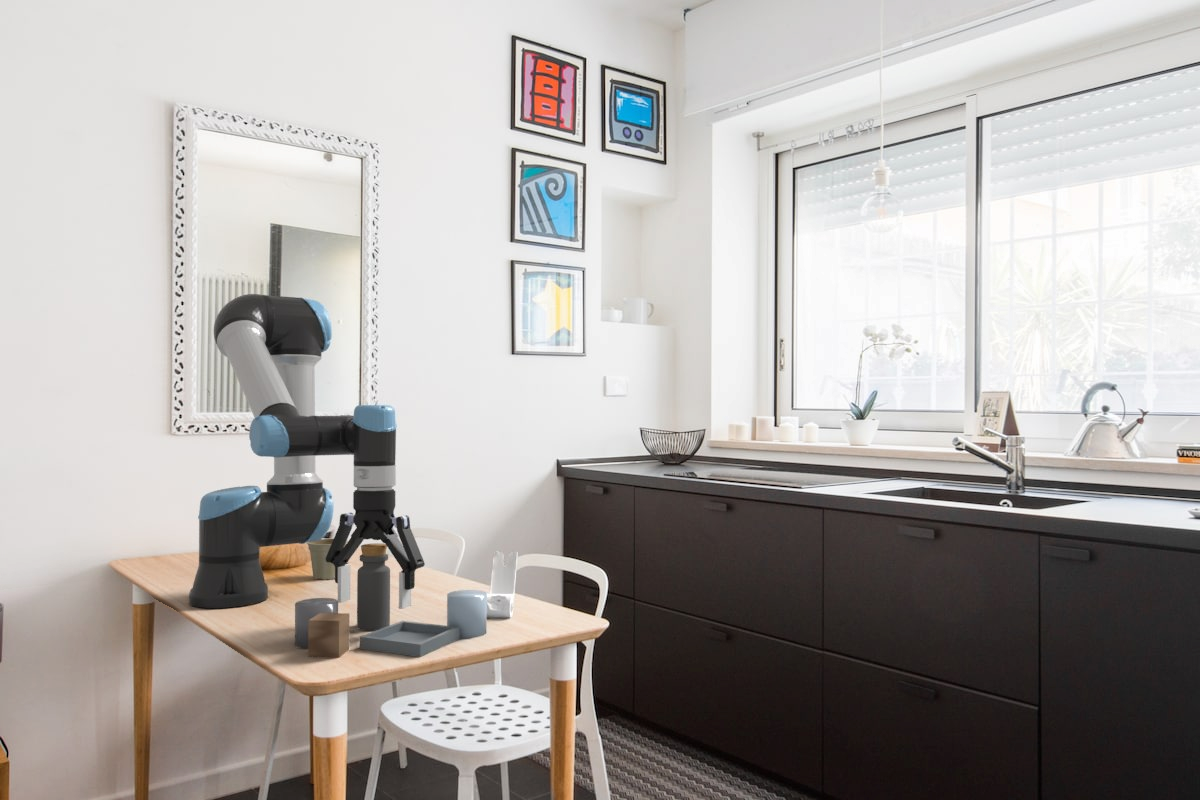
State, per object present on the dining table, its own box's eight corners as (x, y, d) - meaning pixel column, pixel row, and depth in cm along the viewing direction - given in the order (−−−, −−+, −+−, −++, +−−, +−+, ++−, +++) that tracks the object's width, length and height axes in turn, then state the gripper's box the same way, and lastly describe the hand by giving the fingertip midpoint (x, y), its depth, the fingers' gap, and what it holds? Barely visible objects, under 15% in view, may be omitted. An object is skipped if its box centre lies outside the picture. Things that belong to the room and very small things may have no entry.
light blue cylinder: (439, 635, 152) (439, 596, 152) (460, 626, 159) (460, 588, 159) (473, 639, 149) (473, 599, 149) (493, 630, 156) (493, 591, 156)
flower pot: (356, 576, 206) (356, 540, 206) (324, 583, 198) (324, 545, 198) (329, 572, 211) (330, 537, 211) (297, 578, 203) (298, 542, 203)
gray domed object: (285, 646, 145) (286, 604, 145) (314, 636, 151) (314, 596, 151) (318, 650, 142) (319, 608, 142) (346, 640, 149) (346, 600, 149)
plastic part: (471, 619, 165) (470, 558, 165) (481, 606, 175) (481, 549, 175) (509, 619, 164) (509, 558, 164) (518, 607, 174) (518, 550, 174)
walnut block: (308, 657, 138) (308, 620, 138) (319, 649, 143) (319, 613, 143) (338, 658, 138) (339, 620, 138) (349, 649, 143) (349, 613, 143)
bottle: (372, 632, 154) (373, 548, 154) (350, 627, 157) (350, 545, 157) (396, 625, 159) (397, 544, 159) (374, 621, 162) (374, 541, 162)
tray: (359, 648, 143) (359, 636, 143) (402, 631, 154) (402, 620, 154) (420, 656, 139) (420, 644, 139) (459, 638, 150) (459, 627, 150)
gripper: (306, 488, 160) (305, 602, 159) (420, 492, 150) (419, 614, 150) (333, 485, 167) (332, 594, 166) (443, 489, 157) (443, 605, 157)
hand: (374, 604), depth 158 cm, fingers open, 13 cm apart
